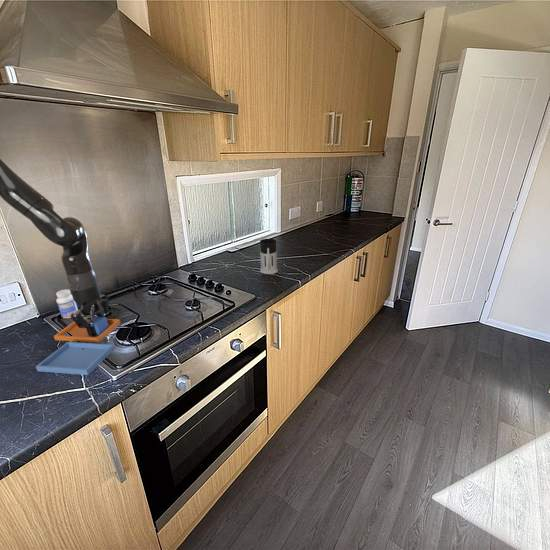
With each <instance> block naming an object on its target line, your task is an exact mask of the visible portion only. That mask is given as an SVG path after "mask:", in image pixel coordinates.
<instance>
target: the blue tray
mask: <svg viewBox="0 0 550 550" xmlns="http://www.w3.org/2000/svg"><path fill="white" fill-rule="evenodd" d="M81 348H85V349H84V350H82V349H81ZM114 350H115V345H114V344H109V343H93V342H77V341H66V342H65V343H64V344H63V345H61V346H60V347H58V349H56V350H55V351H54V352H52V353H51V354H50V355H48V356H47V357H46V358H45V359H43V360H41V362H39V363H38V364H37V365H36V366H35V369H36V370H37V372H44V373H55V374H68V375H80V376H81V375H82V376H89V375H90V374H91V373H92V372H93V371H94V370H95V369H96V368H98V366H99V365H100V364H101V363H102V362H103V361H104V360H105V359H106V358H107V357H108V356H109V355H110V354H111V353H112V352H114Z"/></svg>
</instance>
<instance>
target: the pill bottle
mask: <svg viewBox="0 0 550 550" xmlns="http://www.w3.org/2000/svg"><path fill="white" fill-rule="evenodd" d="M55 294H56V297H57V298H56V299H55V302H56V304H57V307H58V310H59V313H60V316H61V318H62V317H63V318H62V319H70V318H71V314H75V313H76V312H77V310H78V309H77V307H78V305H77V303H76V302H75V301H74V300H73V297H72V294H71V291H70V289H68V288H67V289H65V288H64V289H60V290H58V291H57V292H56V293H55ZM71 319H72V318H71Z"/></svg>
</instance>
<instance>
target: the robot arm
mask: <svg viewBox="0 0 550 550" xmlns="http://www.w3.org/2000/svg"><path fill="white" fill-rule="evenodd" d="M0 198H1V199H2V200H3V201H4V202H5V203H6V204H7V205H8V206H10V207H11V208H13V209H14V210H15V211H16V212H18V213H19V214H21V215H22V216H23V217H25V218H26V219H27V220H28V221H30V222H31V223H32V224H33V225H34V227H35V228H36V229H37V230H38V231H39V232H40V233H41V234H42V235H43V236H44V237H45V238H46V239H47V240H49V241H50V242H51V243H53V244H55V245H57V246H60V247H62V254H61V257H60V259H61V263H62V267H63V270H64V273H65V277H66V282H67V285H68V288H69V290H70V293H71V295H72V297H73V300H74V301H75V302H76V304H77V309H78V310H77V312H76V313H75V314H71V319H72V320H73V322H75V323H76V324H77V326H78V327H79V328H86V330H87V333H88V335H89V336H96V335H97V333H96V330H95V327H94V325H93V319H94V317H106V315H107V313H109V311H110V309H109V295H107V294H102V290H101V287H100V284H99V281H98V278H97V277H98V276H97V274H96V271H95V270H94V267H93V264H92V261H91V257H90V254H89V243H88V236H87V231H86V229H85V226H84V224H83V223H82V222H81V221H80V220H78V219H77V218H75V217H73V216H67V217H66V216H65V217H61V216H60V215H59V214H58V213H57V212H56V211H55V208H54V204H53V203H52V202H51V201H50V200H49V199H48V198H46V197H45V196H44V195H42V194H41V193H40V192H39V191H38V190H36V189H35V188H34V187H33V186H31V185H30V184H29V183H27V182H26V181H25V180H24V179H23V178H21V177H20V176H19V175H18V174H17V173H15V171H14V170H12V169H11V168H10V167H9V166H8V165H7V164H6V163H5V162H4V161H3V160H2V159H1V158H0ZM88 320H89V323H88Z"/></svg>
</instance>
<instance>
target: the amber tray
mask: <svg viewBox="0 0 550 550" xmlns="http://www.w3.org/2000/svg"><path fill="white" fill-rule="evenodd" d="M106 319H107V323H108V326H109V328H107V329H106V330H105V331H104V332H103V333H102V334H100V335H99V336H89V335H88V333H87V330H86V328H79V327H78V326H77V324H76V323H75V322H74V321H73V322H71V323H69V324H68V325H67V326H66V327H64V328H63V329H61V330H60V331H59V332H57V333H55V335H53V338H54V341H64V342H77V341H79V343H95V344H100V342H102V341H103V340H104V339H105V338H107V336H108V335H110V334H111V333H112V332H113V330H115V329H116V328H117V327H118V326H120V325H121V320H120V319H118V318H106ZM88 321H89V320H88ZM67 332H68V333H70V334H72V335H73V336H64V334H65V333H67Z"/></svg>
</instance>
